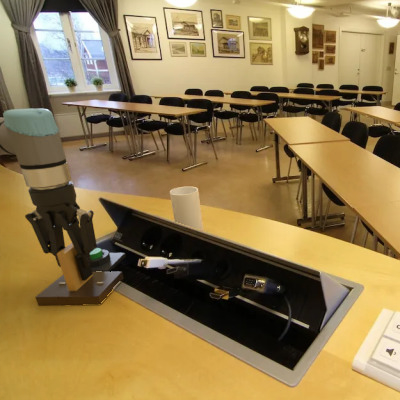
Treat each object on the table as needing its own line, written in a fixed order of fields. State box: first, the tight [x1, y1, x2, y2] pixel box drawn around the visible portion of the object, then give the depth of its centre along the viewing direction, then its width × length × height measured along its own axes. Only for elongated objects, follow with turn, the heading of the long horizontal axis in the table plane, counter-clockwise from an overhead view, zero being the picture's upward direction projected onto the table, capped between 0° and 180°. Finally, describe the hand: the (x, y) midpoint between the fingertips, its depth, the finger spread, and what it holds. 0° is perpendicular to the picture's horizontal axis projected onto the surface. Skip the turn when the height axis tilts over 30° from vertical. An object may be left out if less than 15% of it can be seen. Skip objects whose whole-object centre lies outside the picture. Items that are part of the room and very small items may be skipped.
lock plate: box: [34, 271, 125, 307], centre depth 78 cm, size 14×10×3 cm
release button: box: [90, 247, 103, 260], centre depth 88 cm, size 4×4×2 cm
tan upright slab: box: [57, 242, 93, 291], centre depth 75 cm, size 6×2×10 cm, turn 1°
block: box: [90, 249, 127, 272], centre depth 89 cm, size 11×9×3 cm
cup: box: [169, 185, 205, 232], centre depth 103 cm, size 8×8×16 cm
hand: (79, 277), depth 76 cm, fingers open, 3 cm apart
